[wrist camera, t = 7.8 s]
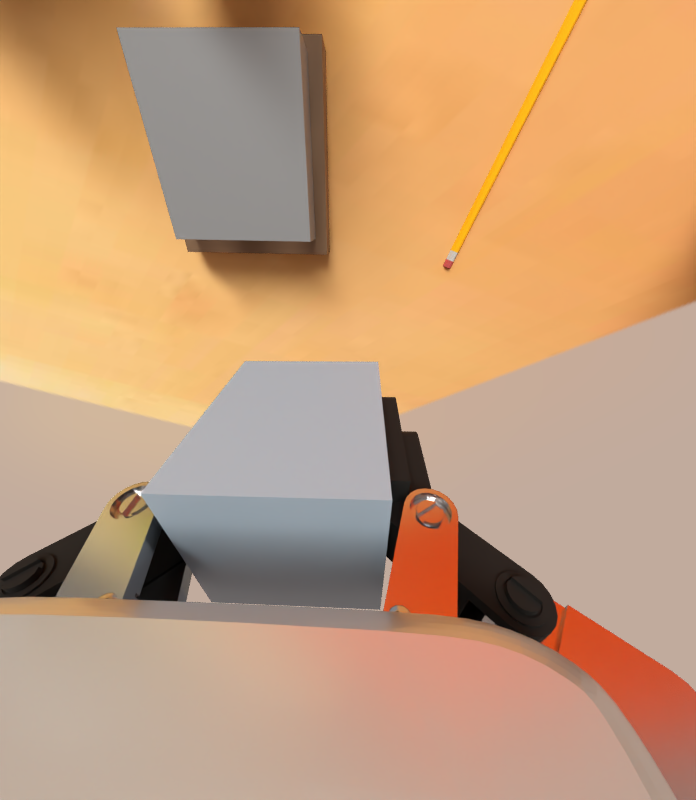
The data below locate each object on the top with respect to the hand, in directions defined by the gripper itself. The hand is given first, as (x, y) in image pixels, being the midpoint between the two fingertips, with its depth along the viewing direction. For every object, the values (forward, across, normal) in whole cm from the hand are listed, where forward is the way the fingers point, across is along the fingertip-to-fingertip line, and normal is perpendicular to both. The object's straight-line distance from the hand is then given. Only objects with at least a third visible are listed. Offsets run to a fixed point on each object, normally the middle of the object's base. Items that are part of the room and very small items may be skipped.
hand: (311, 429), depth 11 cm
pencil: (+23, -14, -11) cm, 29 cm away
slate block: (+1, 0, 0) cm, 1 cm away
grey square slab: (+20, +8, -11) cm, 24 cm away
